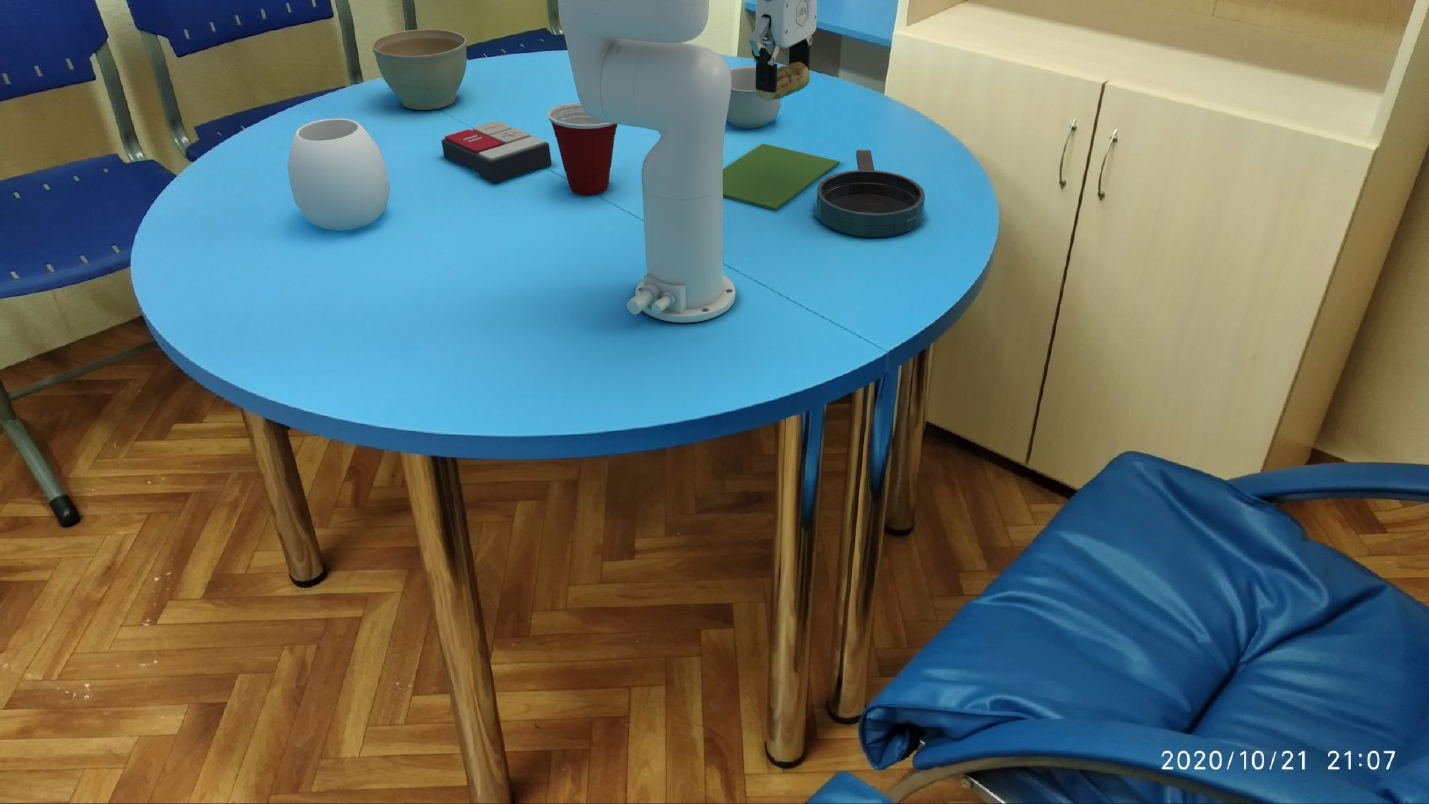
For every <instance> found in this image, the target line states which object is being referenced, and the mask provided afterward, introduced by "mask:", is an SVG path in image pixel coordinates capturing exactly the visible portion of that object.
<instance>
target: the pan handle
mask: <svg viewBox="0 0 1429 804" xmlns="http://www.w3.org/2000/svg"><path fill="white" fill-rule="evenodd" d="M855 158H856V159H855V160H856V165H857V170H875V166H874V161H873V155H872V150H871V149H868V150H867V149H856V151H855Z"/></svg>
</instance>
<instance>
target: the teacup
mask: <svg viewBox="0 0 1429 804" xmlns="http://www.w3.org/2000/svg"><path fill="white" fill-rule="evenodd" d="M729 69H730V73H731V95H730V101H729V107H728V112H727V119H726V121H728V122H730V123H731V125H733V126H735V127H738V128H741V129H758V128H762V127H765V126H766V125H768V124H769V123H771V121H773V120H774V119H775V118H776V117H777V116H778V114H779V112H780V109H781V103H782V102H781V101H782V98H780V99H774V100H772V101H766V100H764V99H763V98H760V97H758V96H757V94H756V91H755V81H756V66H748V65H747V66H739V67H734V68H729Z"/></svg>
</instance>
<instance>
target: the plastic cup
mask: <svg viewBox="0 0 1429 804" xmlns="http://www.w3.org/2000/svg"><path fill="white" fill-rule="evenodd" d="M546 114H547V118H548V121H550V123H551V127H552V129H553V133H554V136H555V138H556V142H557V146H558V150H559V154H560V158H561V162H562V166H563V171H564V172H565V176H566V179H567V183H568V187H569V189H570V191H571V193H573V194H574V195H578V196H583V197H591V196H598V195H601V194H603V193H605V192H607V190H608V188H609V185H610V176H611V168H612V162H613V153H614V146H615V137H616V132H617V128H618V124H614V123H608V122H603V121H599V120H596V119H594V118H592V117H591V116H589V115H588V114H587V113H586V112H585V110H584V109H583V107H582V105H581V103H580V102H578V103H577V102H576V103H573V102H572V103H567V104H560V105H557V106H554V107H551V108H550V109H549V110H548V111H547V112H546Z"/></svg>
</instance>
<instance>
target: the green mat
mask: <svg viewBox="0 0 1429 804" xmlns="http://www.w3.org/2000/svg"><path fill="white" fill-rule="evenodd" d="M839 165H840V161H838V160H834V159H830V158H826V157H821V156H817V155H813V154H810V153H805V152H801V151H796V150H793V149H787V148H783V147H781V146H780V147H779V146H775V145H770V144H766V143H761V144H760V145H758V146H757V147H756V148H754V149H752V150H751V151H749V152H748V153H746V154H745V155H743V156H741V157H740V158H738V159H737V160H735V161H734V162H732V163H730V164H729V165H728V166H726V167H723V198H725V199H729V200H734V201H738V202H742V203H745V204H749V205H752V206H757V207H760V208H764V209H768V210H772V211H775V212H777V210H779V209H780V208H782V207H783V206H784V205H786V204H787V203H789V202H790V201H792V200H793V199H794V198H795V197H797V196H798V195H800V194H801V193H802V192H803V191H805V190H807V188H809V187H811V186H812V185H813V184H814V183H816V182H817V181H818V180H820V179H821V178H822V177H824V176H825V175H826V174H828V173H829V172H831V171H832V170H833V169H835V168H836V167H837V166H839Z"/></svg>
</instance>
